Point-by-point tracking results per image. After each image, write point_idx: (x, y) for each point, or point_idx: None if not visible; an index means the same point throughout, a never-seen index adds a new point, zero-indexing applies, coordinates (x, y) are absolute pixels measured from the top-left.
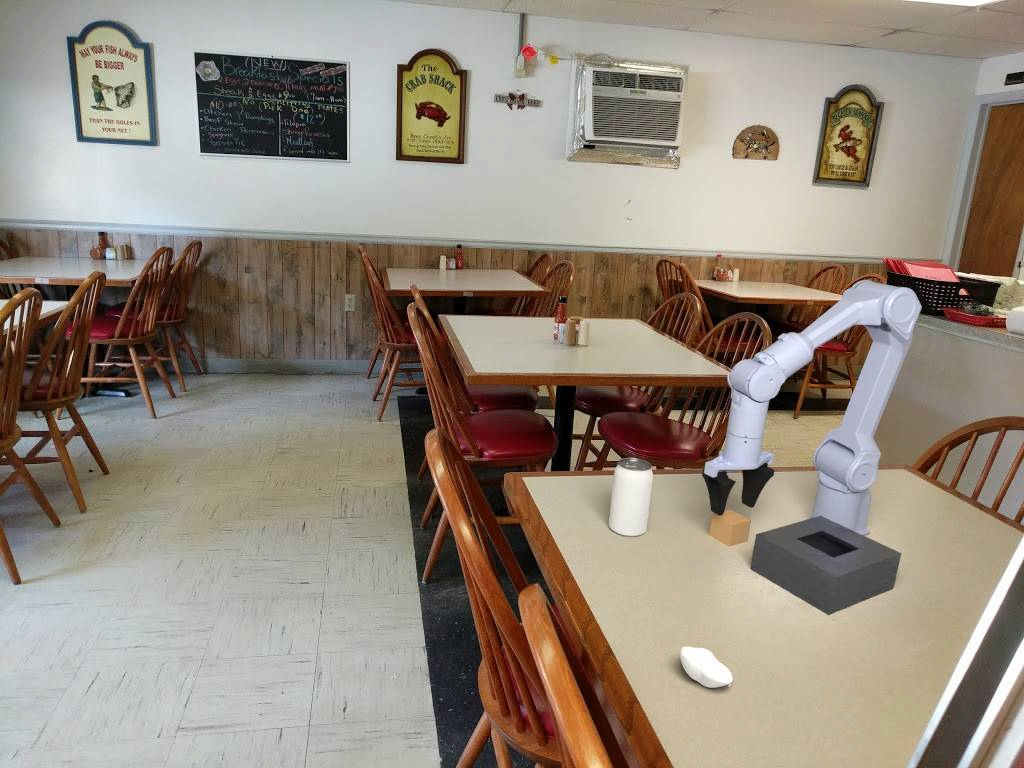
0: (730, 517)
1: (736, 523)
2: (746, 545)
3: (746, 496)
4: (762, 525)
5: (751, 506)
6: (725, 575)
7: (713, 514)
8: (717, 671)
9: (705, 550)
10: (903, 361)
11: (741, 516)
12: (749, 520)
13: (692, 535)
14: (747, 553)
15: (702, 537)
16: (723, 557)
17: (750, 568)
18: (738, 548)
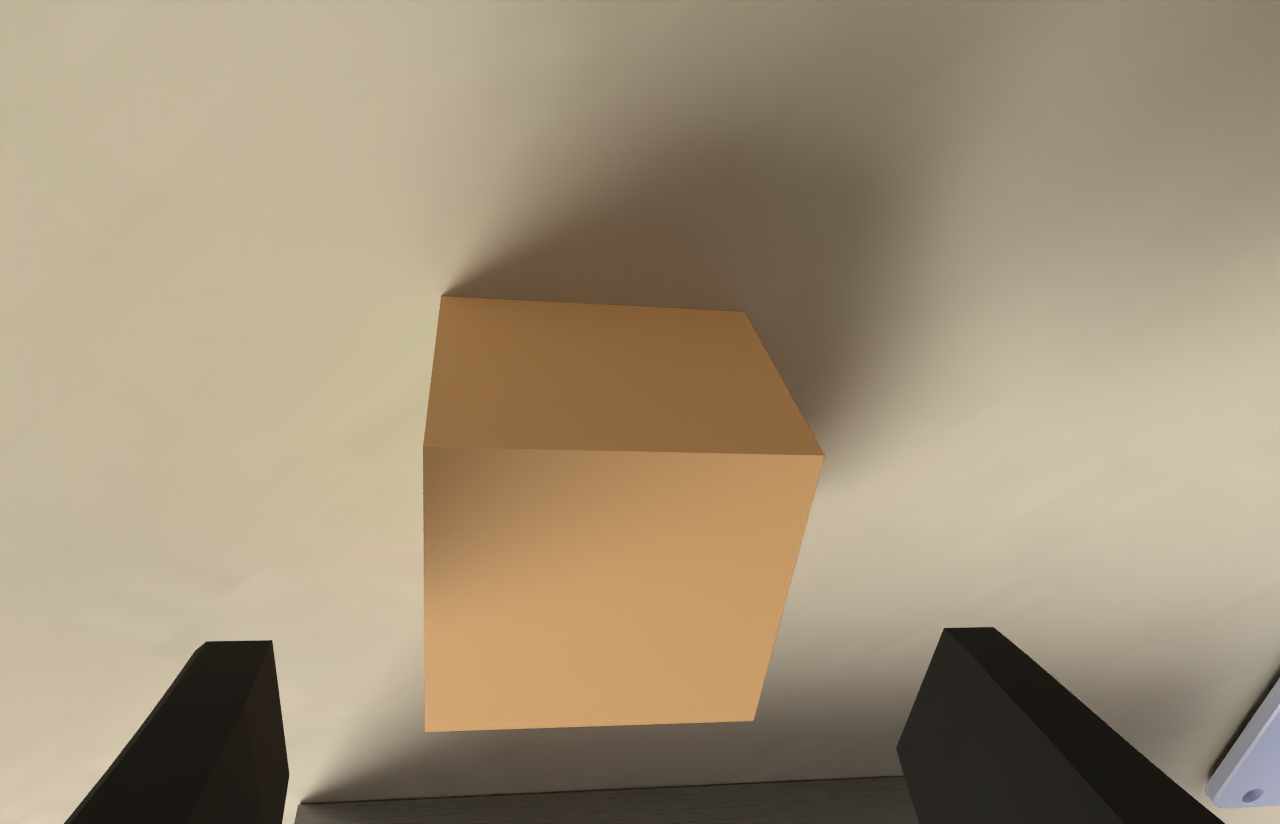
0: (592, 603)
1: (515, 718)
2: None
3: (993, 790)
4: (1144, 407)
5: (903, 770)
6: (8, 804)
7: (443, 454)
8: None
9: (124, 501)
10: None
11: (752, 631)
12: (735, 716)
13: (221, 205)
14: None
15: (314, 299)
16: (215, 640)
17: (299, 808)
18: None
